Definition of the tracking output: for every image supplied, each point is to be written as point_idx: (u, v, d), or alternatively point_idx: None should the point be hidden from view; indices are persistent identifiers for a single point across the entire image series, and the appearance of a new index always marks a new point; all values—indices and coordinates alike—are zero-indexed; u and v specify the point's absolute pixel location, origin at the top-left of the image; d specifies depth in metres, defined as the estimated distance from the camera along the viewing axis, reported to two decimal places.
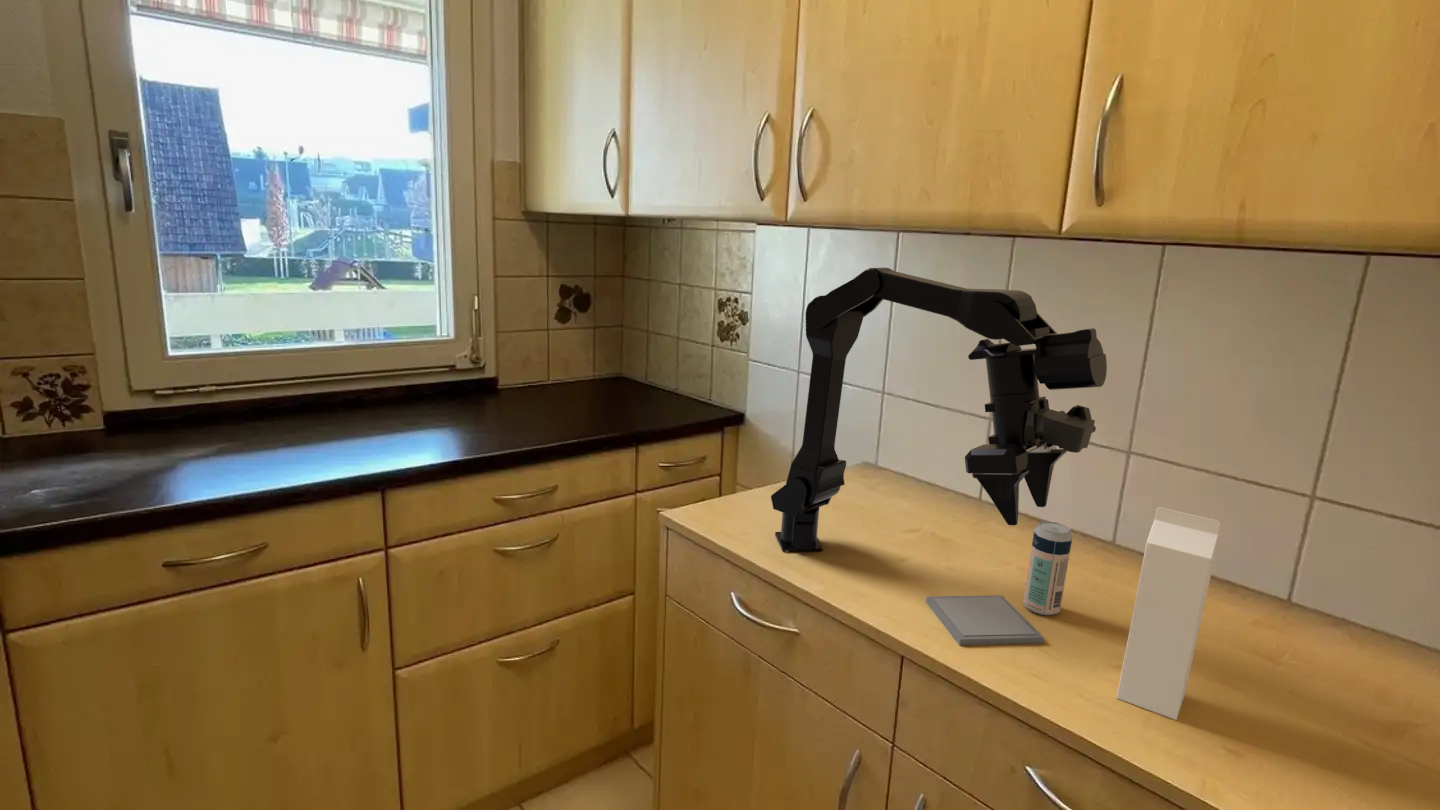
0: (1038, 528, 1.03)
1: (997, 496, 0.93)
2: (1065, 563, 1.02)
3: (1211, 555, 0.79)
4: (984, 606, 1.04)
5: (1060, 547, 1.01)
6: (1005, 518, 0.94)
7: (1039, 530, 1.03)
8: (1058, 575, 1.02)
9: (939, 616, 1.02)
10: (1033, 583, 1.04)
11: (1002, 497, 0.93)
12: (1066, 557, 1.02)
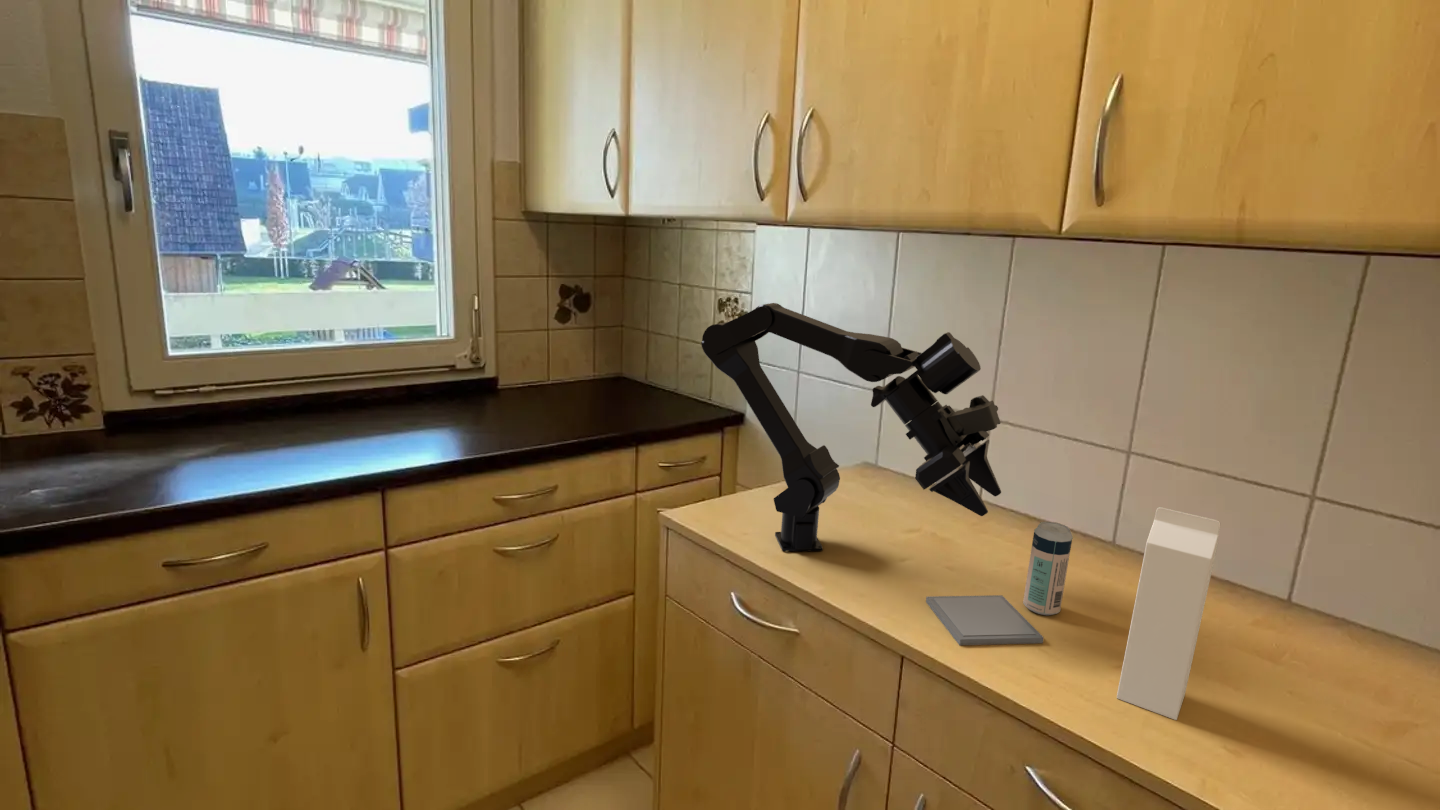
0: (1038, 528, 1.03)
1: (959, 497, 1.03)
2: (1065, 563, 1.02)
3: (1211, 555, 0.79)
4: (984, 606, 1.04)
5: (1060, 547, 1.01)
6: (976, 512, 1.03)
7: (1039, 530, 1.03)
8: (1058, 575, 1.02)
9: (939, 616, 1.02)
10: (1033, 583, 1.04)
11: (963, 495, 1.03)
12: (1066, 557, 1.02)
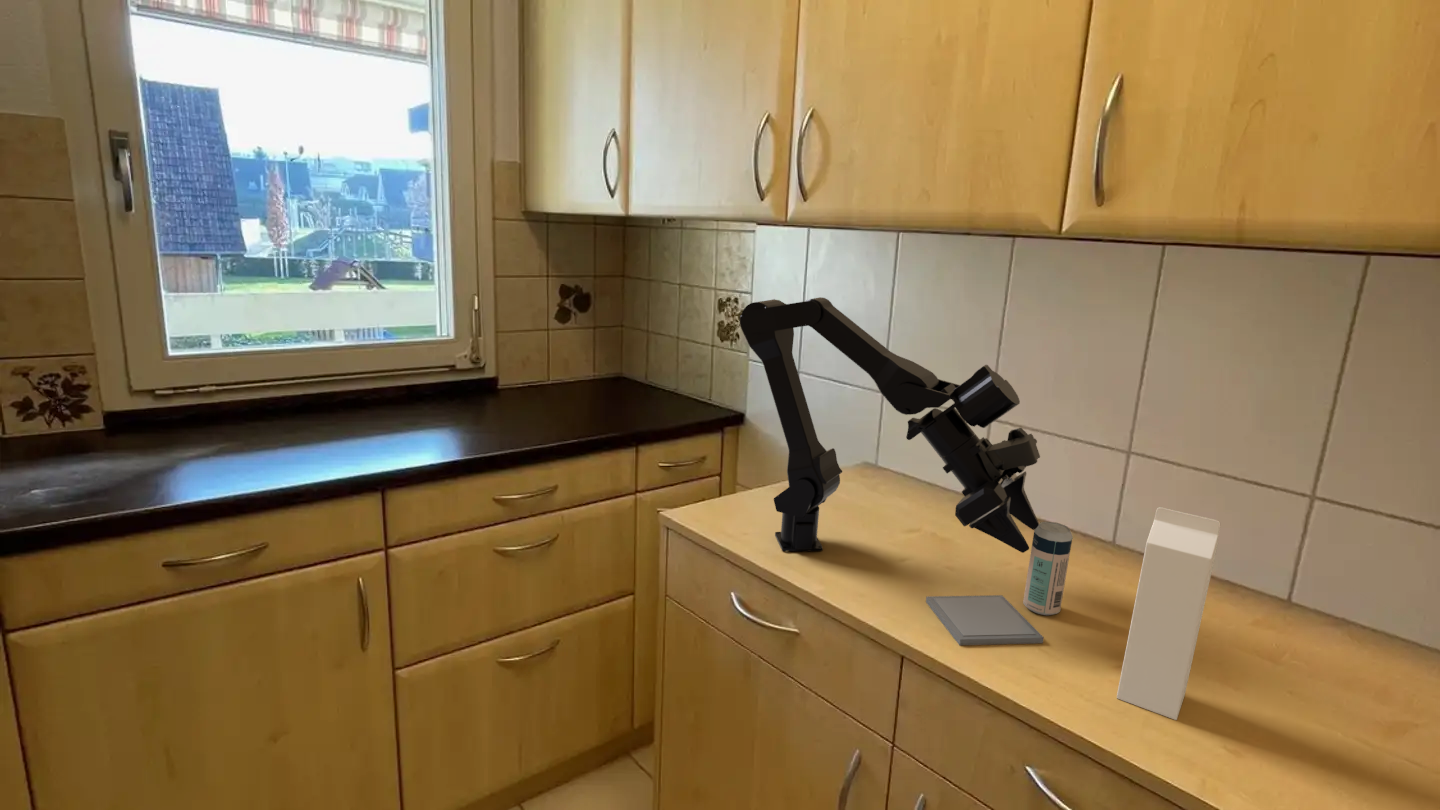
0: (1038, 528, 1.03)
1: (999, 533, 1.01)
2: (1065, 563, 1.02)
3: (1211, 555, 0.79)
4: (984, 606, 1.04)
5: (1060, 547, 1.01)
6: (1017, 548, 1.01)
7: (1039, 530, 1.03)
8: (1058, 575, 1.02)
9: (939, 616, 1.02)
10: (1033, 583, 1.04)
11: (1004, 531, 1.01)
12: (1066, 557, 1.02)
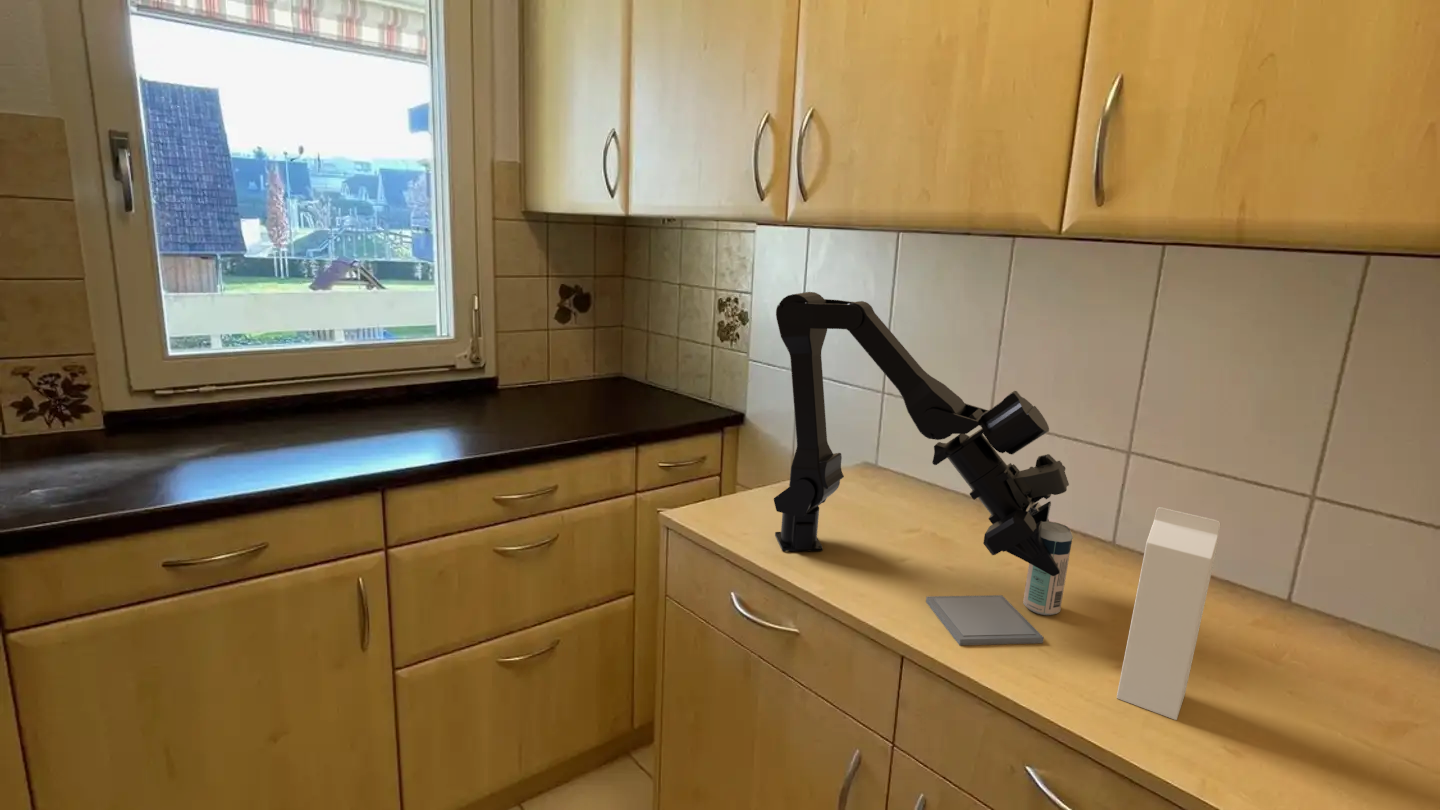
0: None
1: (1030, 556, 1.02)
2: (1065, 563, 1.02)
3: (1211, 555, 0.79)
4: (984, 606, 1.04)
5: (1060, 547, 1.01)
6: (1048, 572, 1.02)
7: None
8: (1058, 575, 1.02)
9: (939, 616, 1.02)
10: (1033, 583, 1.04)
11: (1035, 555, 1.01)
12: (1066, 557, 1.02)
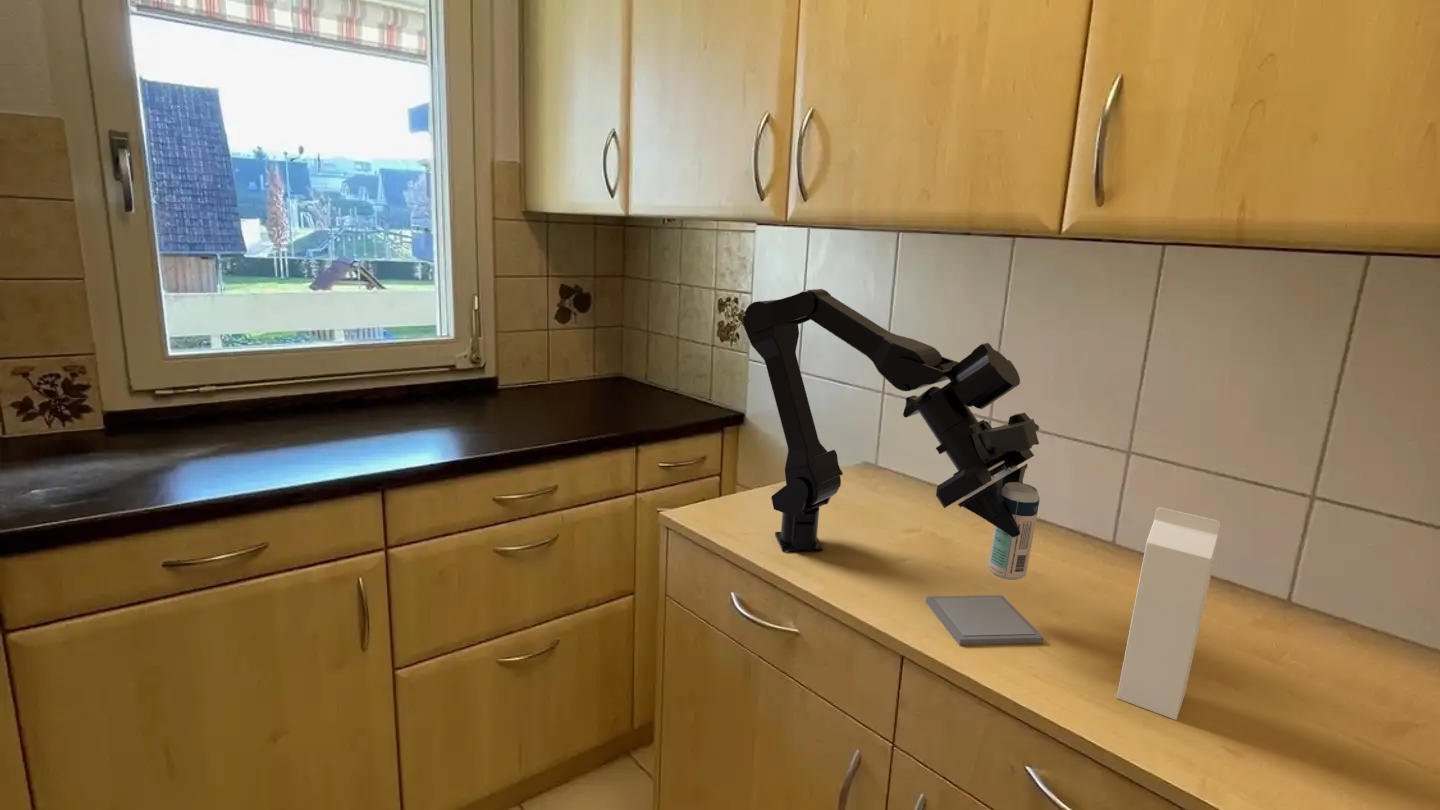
0: (1003, 487, 0.99)
1: (990, 515, 0.98)
2: (1029, 525, 0.98)
3: (1211, 555, 0.79)
4: (984, 606, 1.04)
5: (1023, 507, 0.97)
6: (1007, 532, 0.97)
7: (1004, 489, 0.99)
8: (1020, 537, 0.98)
9: (939, 616, 1.02)
10: (996, 545, 1.00)
11: (994, 513, 0.97)
12: (1030, 519, 0.97)
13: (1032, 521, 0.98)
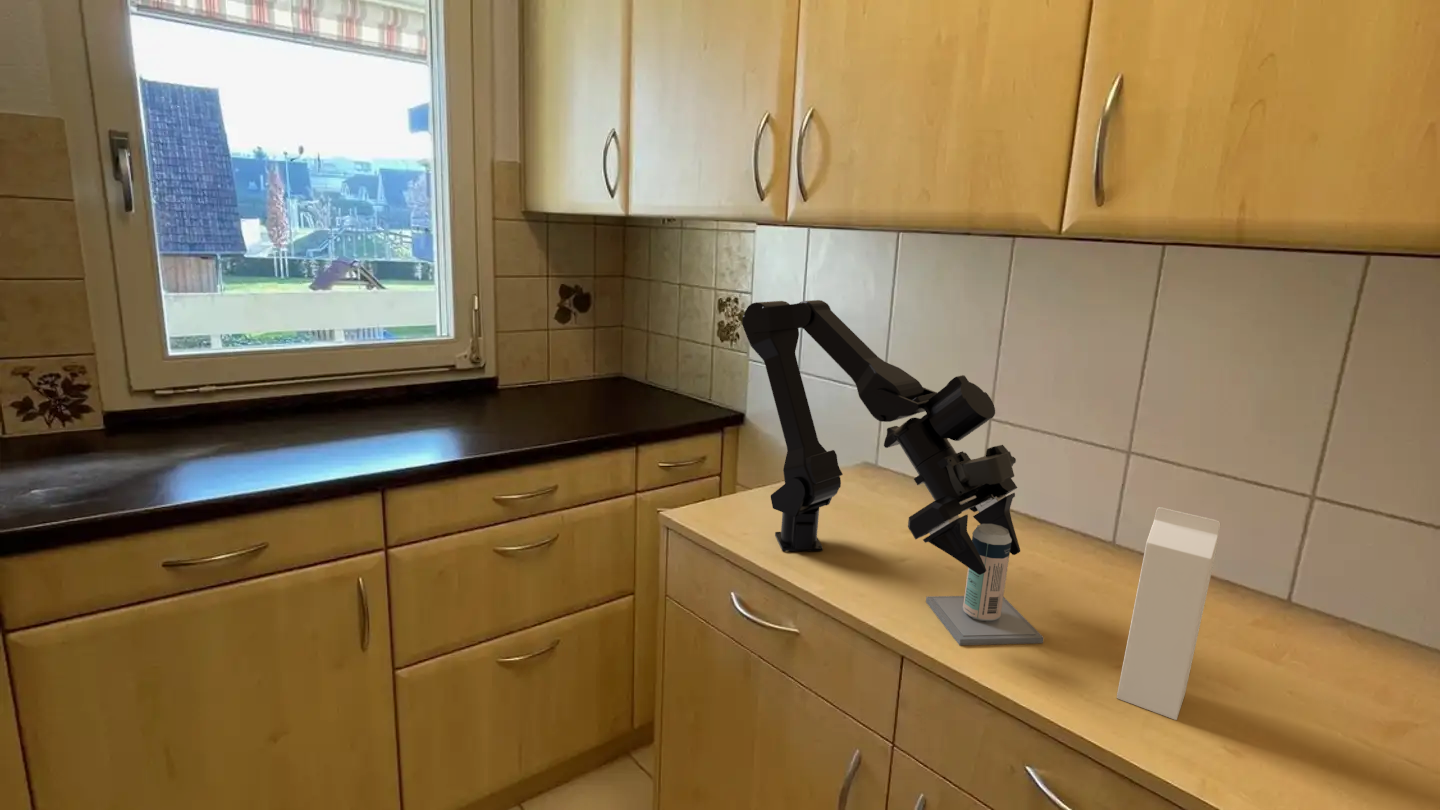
0: (976, 529, 1.00)
1: (955, 551, 0.97)
2: (1000, 568, 0.98)
3: (1211, 555, 0.79)
4: None
5: (992, 550, 0.97)
6: (973, 569, 0.96)
7: (975, 531, 0.99)
8: (991, 579, 0.98)
9: (939, 616, 1.02)
10: (968, 586, 1.00)
11: (959, 550, 0.96)
12: (1001, 561, 0.98)
13: (1003, 563, 0.98)
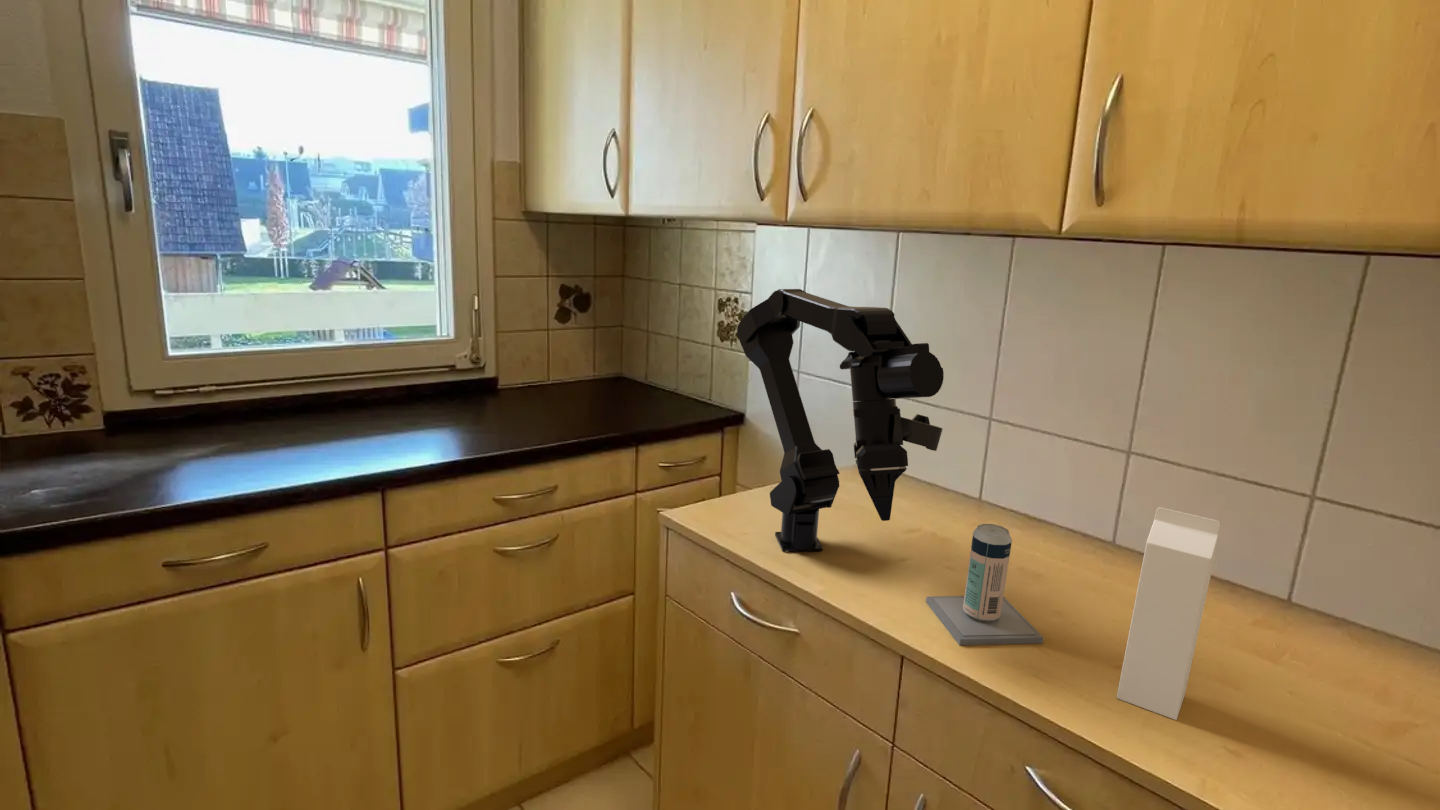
0: (976, 529, 1.00)
1: (876, 493, 1.00)
2: (1000, 568, 0.98)
3: (1211, 555, 0.79)
4: None
5: (993, 550, 0.97)
6: (880, 514, 1.01)
7: (976, 531, 0.99)
8: (991, 579, 0.98)
9: (939, 616, 1.02)
10: (969, 586, 1.00)
11: (881, 493, 1.00)
12: (1001, 562, 0.98)
13: (1003, 563, 0.98)
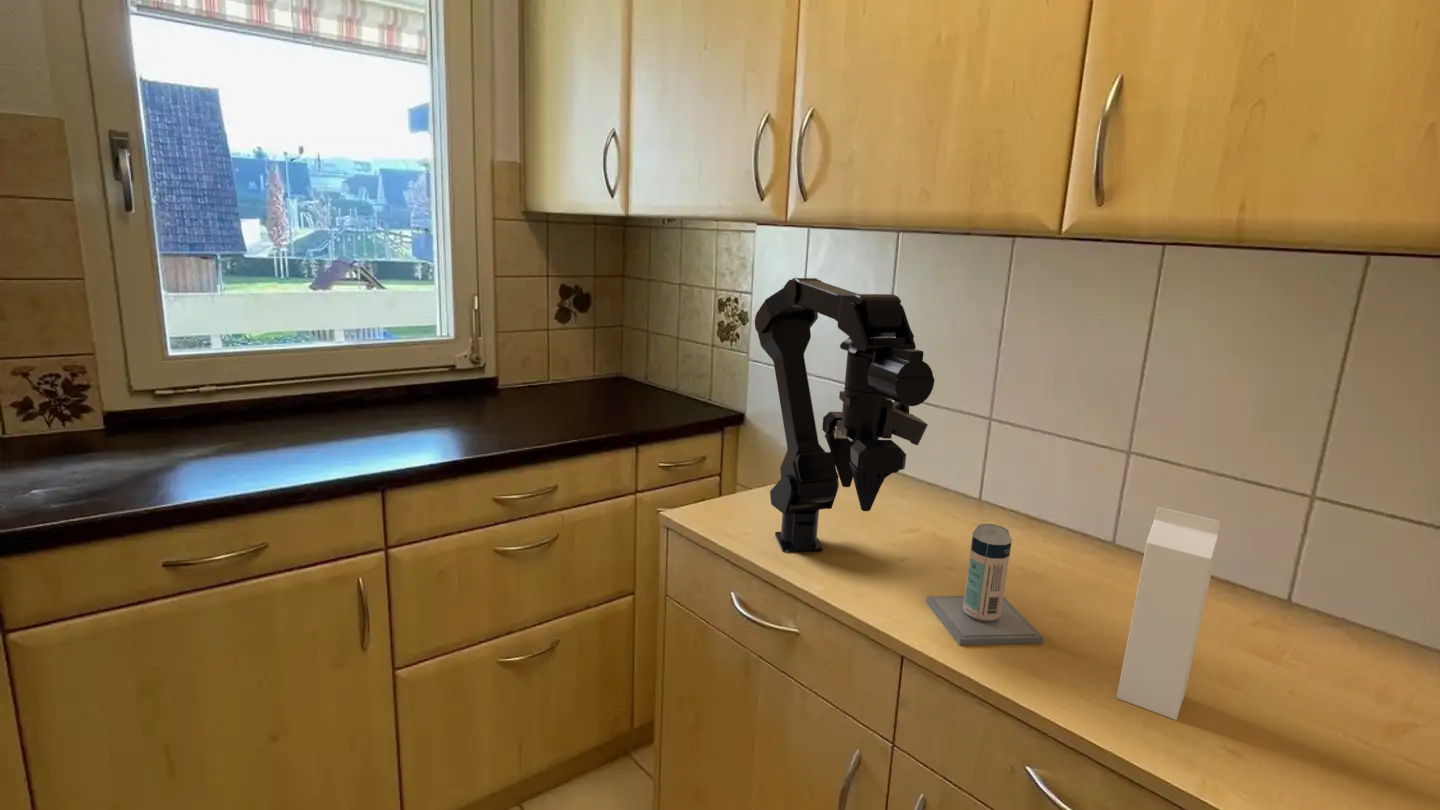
0: (976, 529, 1.00)
1: (864, 487, 1.01)
2: (1000, 568, 0.98)
3: (1211, 555, 0.79)
4: None
5: (992, 550, 0.97)
6: (862, 505, 1.02)
7: (976, 531, 0.99)
8: (991, 579, 0.98)
9: (939, 616, 1.02)
10: (969, 586, 1.00)
11: (868, 487, 1.01)
12: (1001, 562, 0.98)
13: (1003, 563, 0.98)
